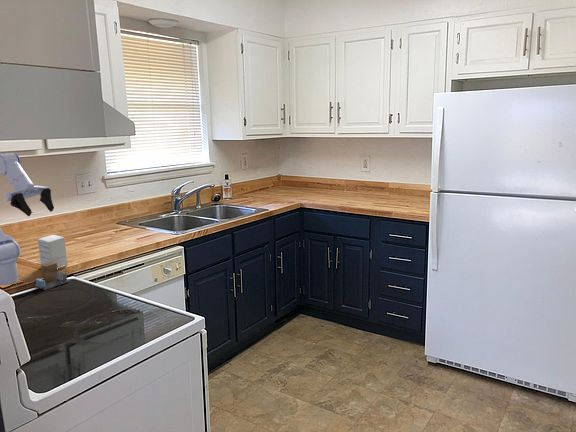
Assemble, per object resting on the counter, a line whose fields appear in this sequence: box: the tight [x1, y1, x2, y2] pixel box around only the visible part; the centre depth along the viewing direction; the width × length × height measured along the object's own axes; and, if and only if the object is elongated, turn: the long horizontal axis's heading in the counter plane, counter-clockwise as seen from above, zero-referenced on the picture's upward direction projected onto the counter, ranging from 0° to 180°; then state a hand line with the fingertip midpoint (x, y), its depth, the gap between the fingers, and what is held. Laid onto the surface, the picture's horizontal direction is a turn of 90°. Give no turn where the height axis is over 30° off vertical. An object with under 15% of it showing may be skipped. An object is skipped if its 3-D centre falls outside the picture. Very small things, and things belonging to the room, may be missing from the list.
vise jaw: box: [35, 278, 46, 289], centre depth 170 cm, size 4×2×3 cm, turn 59°
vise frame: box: [34, 270, 71, 291], centre depth 174 cm, size 6×10×3 cm, turn 149°
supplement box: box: [37, 234, 68, 268], centre depth 190 cm, size 7×7×13 cm
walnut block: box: [40, 261, 59, 282], centre depth 179 cm, size 3×4×6 cm
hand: (41, 211), depth 152 cm, fingers open, 7 cm apart
